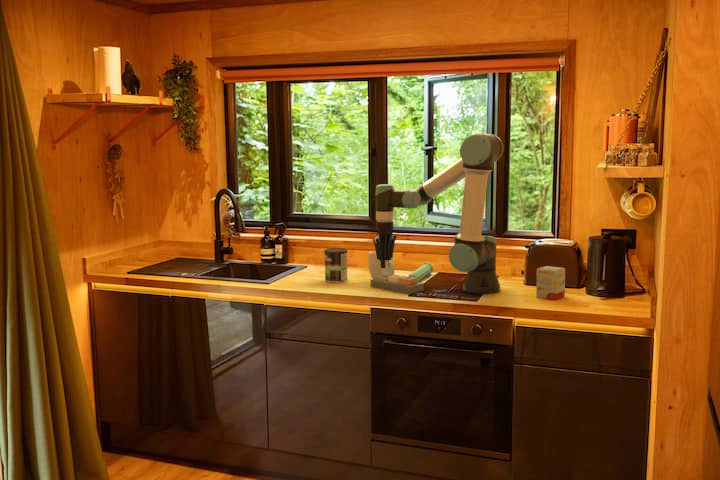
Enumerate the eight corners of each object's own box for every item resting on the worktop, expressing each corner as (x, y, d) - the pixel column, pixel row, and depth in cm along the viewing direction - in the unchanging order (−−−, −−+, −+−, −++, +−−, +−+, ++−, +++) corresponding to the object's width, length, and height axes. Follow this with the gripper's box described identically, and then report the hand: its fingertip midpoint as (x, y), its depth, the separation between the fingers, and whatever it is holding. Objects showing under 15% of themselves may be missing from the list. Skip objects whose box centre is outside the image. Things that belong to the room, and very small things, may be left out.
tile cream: (405, 283, 305) (404, 275, 305) (397, 285, 301) (397, 277, 301) (396, 282, 308) (396, 274, 308) (388, 284, 305) (388, 275, 304)
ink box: (565, 296, 286) (566, 267, 284) (555, 300, 279) (556, 270, 278) (545, 293, 291) (546, 264, 290) (535, 297, 285) (535, 268, 283)
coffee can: (330, 284, 317) (330, 252, 315) (321, 280, 326) (320, 249, 324) (351, 281, 322) (351, 250, 320) (341, 277, 331) (341, 247, 329)
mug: (403, 282, 317) (403, 253, 315) (383, 285, 311) (382, 255, 309) (384, 277, 329) (383, 249, 327) (364, 280, 323) (363, 251, 321)
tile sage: (393, 283, 310) (393, 275, 309) (385, 285, 306) (385, 277, 306) (384, 282, 313) (384, 274, 313) (377, 284, 310) (377, 276, 309)
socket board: (423, 290, 301) (423, 283, 300) (409, 294, 295) (409, 286, 294) (384, 283, 316) (384, 276, 316) (370, 286, 310) (370, 279, 309)
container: (414, 271, 312) (430, 260, 334) (402, 275, 314) (419, 264, 337) (419, 284, 312) (435, 272, 335) (407, 288, 314) (424, 276, 337)
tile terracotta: (416, 285, 301) (416, 277, 300) (409, 287, 297) (409, 279, 296) (407, 284, 304) (407, 276, 303) (400, 286, 300) (399, 277, 300)
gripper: (388, 218, 313) (388, 271, 316) (367, 221, 304) (368, 276, 307) (401, 220, 308) (401, 274, 311) (380, 223, 298) (381, 278, 302)
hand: (384, 275), depth 309 cm, fingers closed
